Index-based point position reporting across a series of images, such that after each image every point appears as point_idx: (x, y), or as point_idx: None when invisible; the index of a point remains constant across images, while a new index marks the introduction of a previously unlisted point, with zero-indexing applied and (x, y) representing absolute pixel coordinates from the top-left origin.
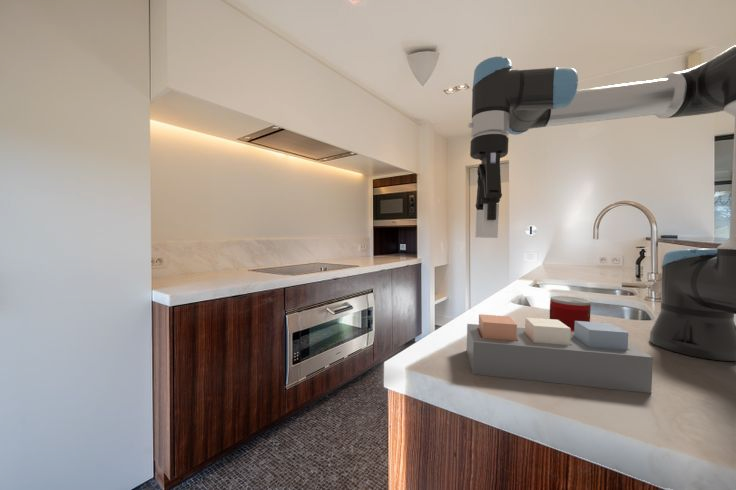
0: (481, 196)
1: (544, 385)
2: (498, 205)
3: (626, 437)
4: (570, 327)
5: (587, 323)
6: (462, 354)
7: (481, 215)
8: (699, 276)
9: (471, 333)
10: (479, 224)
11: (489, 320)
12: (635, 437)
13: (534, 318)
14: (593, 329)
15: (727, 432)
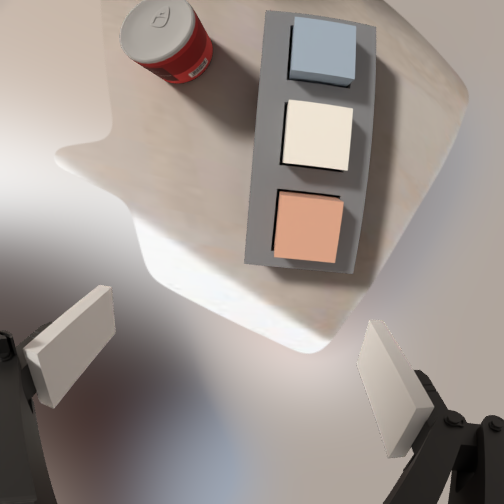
0: (40, 459)
1: None
2: (430, 402)
3: (453, 143)
4: (203, 50)
5: (307, 56)
6: None
7: (63, 369)
8: None
9: (309, 268)
10: (88, 350)
11: (321, 247)
12: (452, 135)
13: (288, 145)
14: (351, 70)
15: (427, 42)
